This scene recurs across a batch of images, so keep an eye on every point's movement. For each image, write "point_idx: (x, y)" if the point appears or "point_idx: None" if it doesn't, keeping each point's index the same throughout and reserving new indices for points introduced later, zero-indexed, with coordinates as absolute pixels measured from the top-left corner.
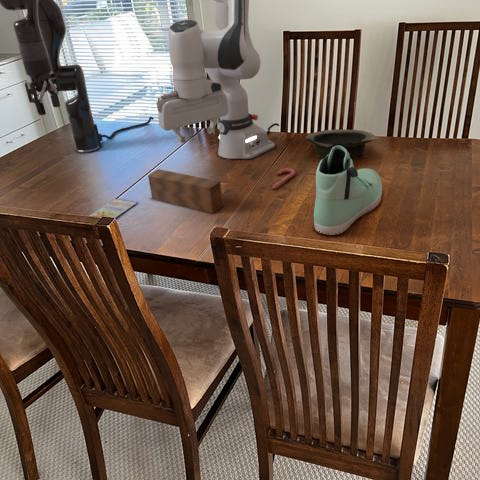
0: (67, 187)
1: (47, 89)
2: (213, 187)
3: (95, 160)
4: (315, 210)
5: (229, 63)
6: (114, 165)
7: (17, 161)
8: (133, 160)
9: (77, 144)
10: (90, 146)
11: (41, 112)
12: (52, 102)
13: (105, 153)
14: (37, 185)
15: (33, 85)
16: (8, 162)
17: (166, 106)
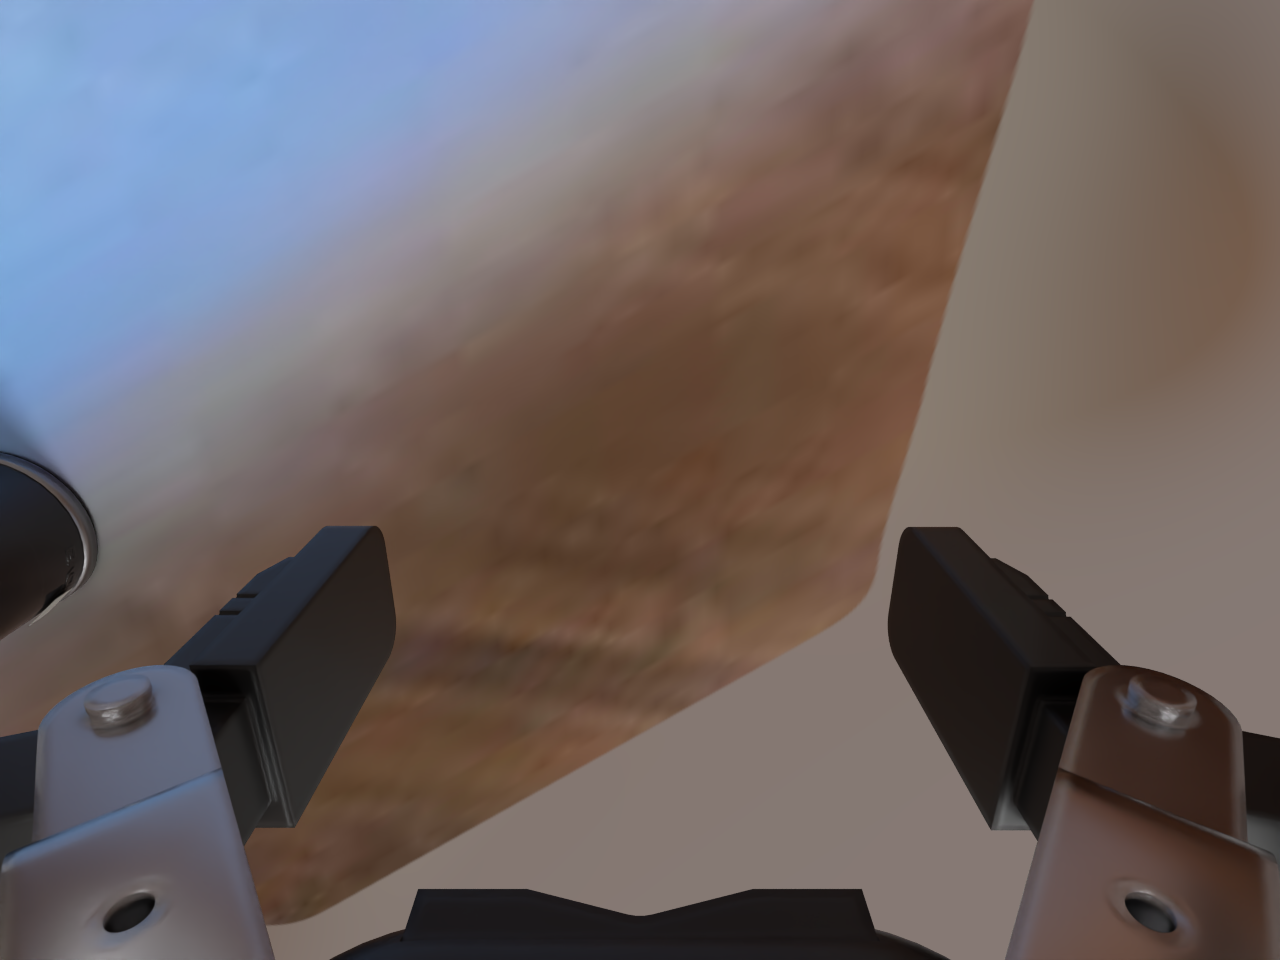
0: (646, 342)
1: (613, 950)
2: None
3: (182, 371)
4: None
5: None
6: (227, 159)
7: (329, 840)
8: (85, 21)
9: (49, 586)
10: (19, 491)
11: (1018, 581)
12: (360, 693)
13: (38, 357)
14: (630, 555)
15: None
16: (352, 874)
17: None
